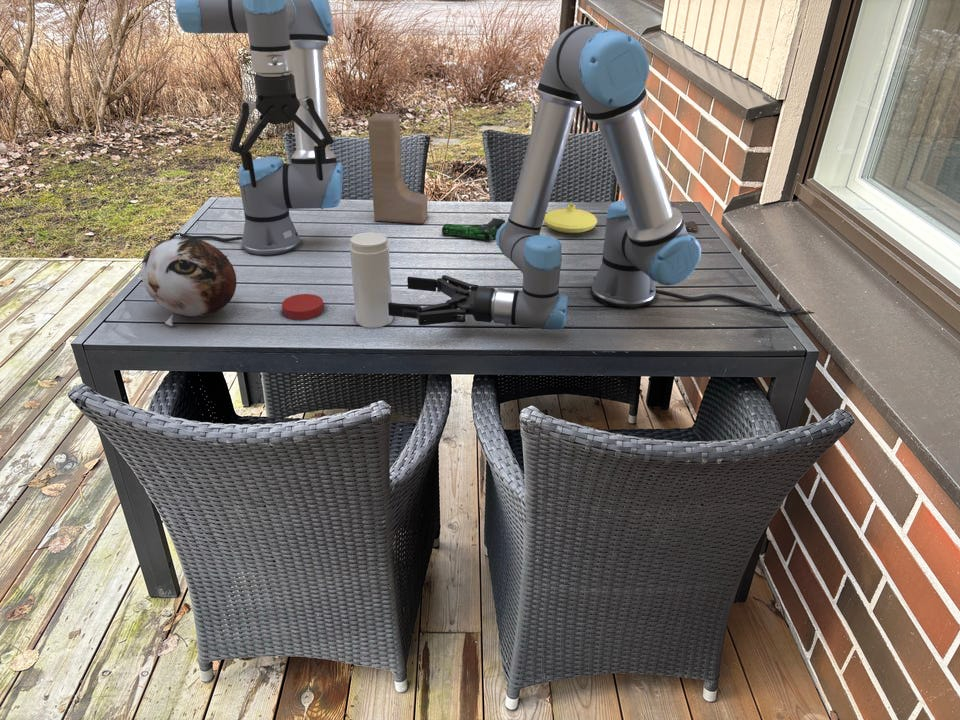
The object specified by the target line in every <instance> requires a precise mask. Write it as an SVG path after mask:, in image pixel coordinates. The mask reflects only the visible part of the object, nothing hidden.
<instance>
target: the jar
mask: <svg viewBox="0 0 960 720" xmlns="http://www.w3.org/2000/svg"><path fill="white" fill-rule="evenodd" d="M388 241H389V240H388V237H387V235H385V234H384V233H382V232H381V233H380V232H376V231H375V232H374V231H366V232H360V233H357V234H354V235H353V236H351V237H350V245H349V255H350V266H351V278H352V279H351V281H352V291H353V292H352V293H353V304H354V305H353V306H354V313H355V323H356V324H357V325H359V326H360V327H364V328H369V329H371V328H372V329H375V328H381V327H385V326H388V325H389V324H391V323H392V322H393V320H394V316H389V310H388V303H389V302H390V303H393V293H392V292H393V291H392V274H391V273H392V272H391V257H390V255H391V254H390V244H388V243H389V242H388Z"/></svg>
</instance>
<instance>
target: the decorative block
mask: <svg viewBox="0 0 960 720" xmlns="http://www.w3.org/2000/svg"><path fill="white" fill-rule="evenodd" d="M367 125H368V128H367V129H368V141H369V156H370V173H371V189H372V190H371V191H372V204H373V219H374V221H376V222H388V223H403V224H418V225H420V224H421V225H422V224H424V222H425V220H426V219H427V217H428V213H429V212H428V196H427V194H425V193H420V192H416V191H412V190H411V189H410V188H408V187H407V185H406V183H405V180H404V178H403V171H402V167H403V166H402V146H401V123H400V115H399V114H398V113H383V112H382V113H381V112H376V113H373V114H372V115H371V116H370V117H368V119H367Z"/></svg>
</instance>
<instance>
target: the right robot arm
mask: <svg viewBox="0 0 960 720" xmlns="http://www.w3.org/2000/svg"><path fill="white" fill-rule="evenodd" d="M548 52H549V53H548V55H547V57H546V59H545V62H544V65H543V67H542V71H541V74H540V78H539V83H538V85H537V89H536V91H537V94H538V96H539V101H538V105H537V108H536V113H535V117H534V120H533V125H532V128H531V132H530V136H529V139H528V142H527V147H526V150H525V154H524V158H523V162H522V165H521V168H520V173H519V177H518V181H517V184H516V188H515V192H514V195H513V199H512V203H511V207H510V211H509V214H508V217H507V221H505V223H504V224H502V226H501V227H500V228H499V229H498V231H497V233H496V237H495V242H496V245H497V247H498V248H499V250H500V251H501V253H502V255H504V256H505V257H506V258H507V259H508V260H509V261H510V262H512V264H513V265H514V266H515V267H516V268H517V269H518V270H519V272H521V274H522V290H518V289H513V288H512V289H511V288H502V287H498V288H497V289H496V288H495V287H490V286H479V285H478V284H476V283H475V284H474V283H469V282H465V281H463V280H461V279H457V278H454V277H453V276H449V275H446V274H442V275H441V277H439V278H437V279H436V278H426V277H417V276H407V277H406V278H407V279H406V282H407V289H408V290H415V291H425V292H437V293H443V295H446V296H447V297H449V298H450V299H447V300H446V301H445V302H442V303H437V304H432V305H427V306H423V307H422V306H421V305H420V304H409V303H408V304H406V303H398V302H392V303H390V302H389V303H388V310H389V316H393V317H399V318H400V317H401V318H408V319H416V320H417V323H418V326H429V325H438V324H439V325H441V324H449V323H466V322H467V316H473V319H474V321H476V322H477V323H478V322H480V323H489V324H491V323H492V322H493V323H494V324H500V325H505V326H509V325H510V326H517V327H526V328H534V329H541V330H549V331H550V330H552V331H554V330H555V331H556V330H557V331H558V330H559V331H560V330H562V329H564V327H565V326H566V322H567V315H568V304H569V298H568V296H567V295H565V294H562V293H560V278H561V277H560V276H561V266H562V261H563V255H562V242H561V241H560V240H559V239H558V238H556V237H555V236H551V235H548V234H541V232H542V228H543V224H544V217H545V215H546V214H547V210H548V207H549V203H550V200H551V196H552V194H553V190H554V186H555V183H556V180H557V176H558V172H559V171H560V170H559V169H560V167H561V163H562V159H563V155H564V152H565V149H566V145H567V142H568V139H569V136H570V132H571V129H572V125H573V122H574V119H575V115H576V112H577V108H579V107H580V106H582V109H583V112H584V115H585V117H586V119H587V120H589V121H591V122H593V123H596V124H597V126H598V128H599V132H600V135H601V137H602V141H603V145H604V146H605V149H606V153H607V156H608V158H609V161H610V164H611V168H612V170H613V173H614V176H615V179H616V182H617V185H618V188H619V190H620V193H621V196H622V199H621V200H616V201H614V202H612V203H611V204H609V206H608V209H607V213H606V217H605V221H606V222H605V229H604V239H603V240H604V241H603V248H602V249H603V250H602V259H601V264H600V266H599V268H598V270H597V273H595V276H594V277H593V281H592V283H591V291H590V294H591V296H592V297H593V298H594V299H595V300H596V301H598V302H600V303H602V304H603V305H606V306H610V307H614V308H618V309H639V308H644V307H647V306H650V305H651V304H652V303H654V302H655V300H656V294H657V295H662V296H666V297H667V296H668V297H672V298H675V299H680V300H682V301H683V300H684V301H688V302H689V301H690V302H693V301H694V302H695V301H703V300H706V299H722V300H726V301H727V300H728V301H731V302H734V303H737V304H740V305H744V306H747V307H751V308H755V309H757V310H761V311H764V312H768V313H771V314H777V315H790V314H794V313H797V312H800V311H802V310H801V308H800V307H799V306H796V307H794V308H793V307H792V308H790V309H784V310H785V311H786V312H782V311H777V310H778V309H776V308H771V307H767V306H765V305H762V304H758V303H755V302H751V301H748V300H744V299H741V298H737V297H735V296H731V295H727V294H720V293H708V294H702V295H697V296H688V295H683V294H679V293H676V292H671V291H667V290H661V289H657V288H656V287H657V286H656V283H655V282H657V283H658V284H659V285H662V286H673V285H678V284H679V283H682V282H684V281H685V280H687V278H689V277H690V276H691V275H692V274H693V272H694V271H695V270H696V267H697V266H698V265H699V263H700V260H701V257H702V246H701V244H700V243H699V240H697V238H696V237H695V236H693V235H691V234H689V232H688V230H686V227H685V223H684V222H685V220H684V217H683V214H682V212H681V211H680V210H679V209H678V208H676V207H672V204H671V199H670V197H669V193H668V190H667V187H666V184H665V181H664V177H663V174H662V170H661V167H660V163H659V160H658V156H657V153H656V149H655V146H654V144H653V140H652V137H651V133H650V130H649V126H648V124H647V119H646V116H645V113H644V109H643V106H642V105H643V103H644V102H645V100H646V98H647V97H648V95H647V94H648V92H647V89H646V86H647V80H648V79H649V77H650V61H649V57H648V54H647V52H646V50H645V48H644V47H643V45H642V44H641V43H640V42H639V41H638V40H637V39H636V38H634V37H632V36H630V35H629V34H627V33H625V32H623V31H620V30H618V29H617V30H616V29H607V28H603V27H600V26H595V25H592V24H587V23H586V24H583V23H582V24H577V25H574V26H573V25H572V26H571V27H569V28H568V29H566V30H564V31H563V32H562V33H561V34H560V35H559V36H558V37H557V38H556V39H555V41H554V42H553V45H552V46H551V48H550V49H549V51H548Z"/></svg>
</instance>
